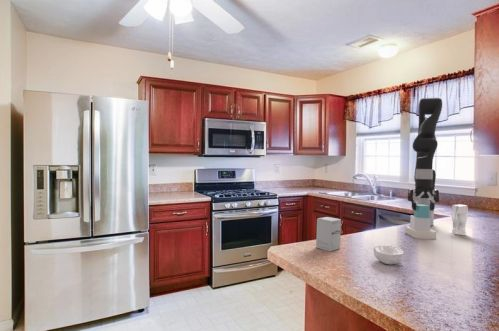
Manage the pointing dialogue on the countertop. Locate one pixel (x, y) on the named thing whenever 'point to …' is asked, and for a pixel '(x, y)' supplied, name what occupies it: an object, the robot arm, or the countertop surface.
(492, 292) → the countertop surface
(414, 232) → the cream slab
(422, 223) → the grey cube
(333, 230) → the supplement box
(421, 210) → the teal block
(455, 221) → the beer glass
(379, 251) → the white bowl
